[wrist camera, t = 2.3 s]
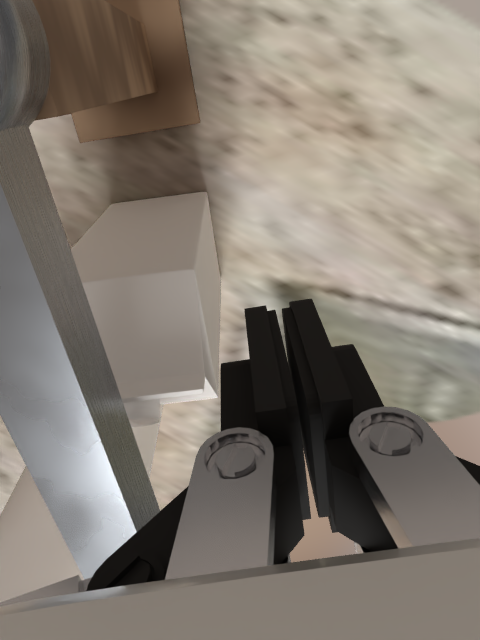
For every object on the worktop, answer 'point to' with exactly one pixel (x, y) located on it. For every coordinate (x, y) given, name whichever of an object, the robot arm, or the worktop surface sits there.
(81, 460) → the arm
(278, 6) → the worktop surface
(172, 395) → the milk carton
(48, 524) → the bottle
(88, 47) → the gate post
